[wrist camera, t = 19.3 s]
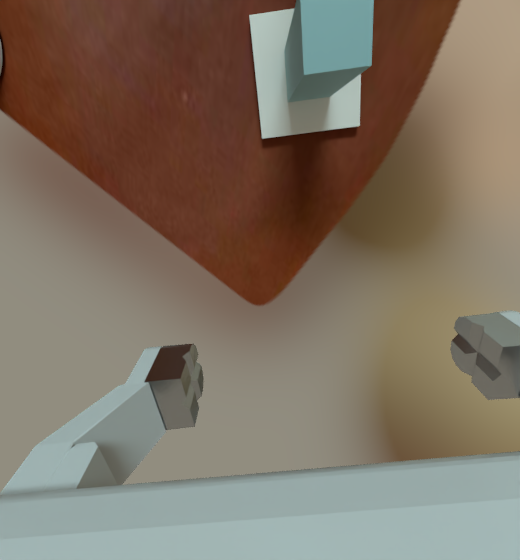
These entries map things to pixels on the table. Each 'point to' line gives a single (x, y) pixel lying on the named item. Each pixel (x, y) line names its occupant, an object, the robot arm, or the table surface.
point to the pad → (273, 89)
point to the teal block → (327, 46)
